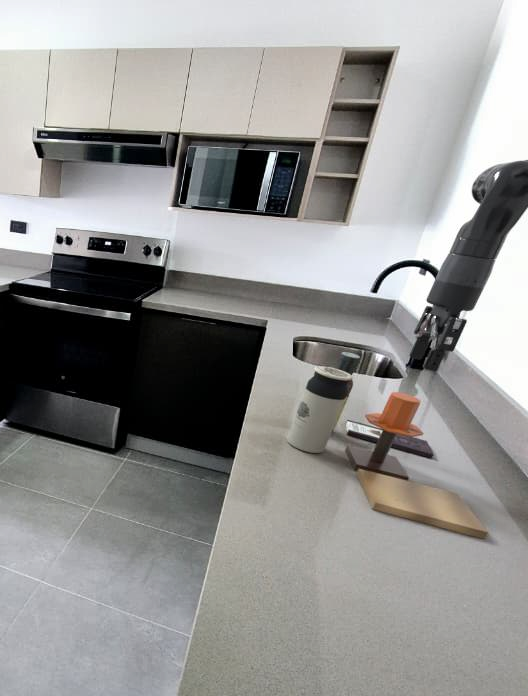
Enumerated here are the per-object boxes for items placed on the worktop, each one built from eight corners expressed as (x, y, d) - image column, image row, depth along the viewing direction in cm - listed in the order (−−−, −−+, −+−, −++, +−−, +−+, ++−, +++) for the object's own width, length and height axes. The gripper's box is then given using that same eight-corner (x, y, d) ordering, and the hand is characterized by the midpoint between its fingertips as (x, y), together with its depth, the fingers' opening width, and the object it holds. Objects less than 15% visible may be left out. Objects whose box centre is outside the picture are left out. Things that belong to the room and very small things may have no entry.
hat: (412, 422, 108) (425, 395, 106) (427, 441, 100) (442, 411, 97) (361, 411, 111) (373, 384, 108) (372, 428, 102) (385, 399, 99)
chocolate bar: (433, 454, 117) (348, 431, 123) (431, 458, 117) (347, 434, 124) (426, 440, 124) (347, 419, 131) (425, 444, 125) (345, 422, 131)
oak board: (453, 499, 100) (457, 493, 99) (484, 539, 88) (488, 532, 87) (355, 474, 105) (358, 468, 104) (372, 509, 92) (375, 502, 92)
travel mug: (317, 441, 118) (346, 369, 110) (328, 457, 111) (360, 381, 103) (282, 434, 119) (308, 363, 111) (291, 450, 111) (320, 374, 104)
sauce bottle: (303, 421, 128) (331, 347, 120) (328, 426, 127) (359, 352, 119) (310, 432, 122) (340, 355, 114) (336, 437, 121) (369, 360, 113)
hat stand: (392, 462, 113) (424, 397, 106) (406, 483, 104) (441, 413, 97) (344, 450, 115) (372, 386, 108) (353, 470, 106) (384, 401, 100)
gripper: (501, 290, 86) (457, 378, 92) (467, 280, 98) (430, 358, 105) (451, 282, 88) (411, 369, 94) (424, 273, 100) (390, 351, 107)
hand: (421, 363), depth 100 cm, fingers open, 8 cm apart
